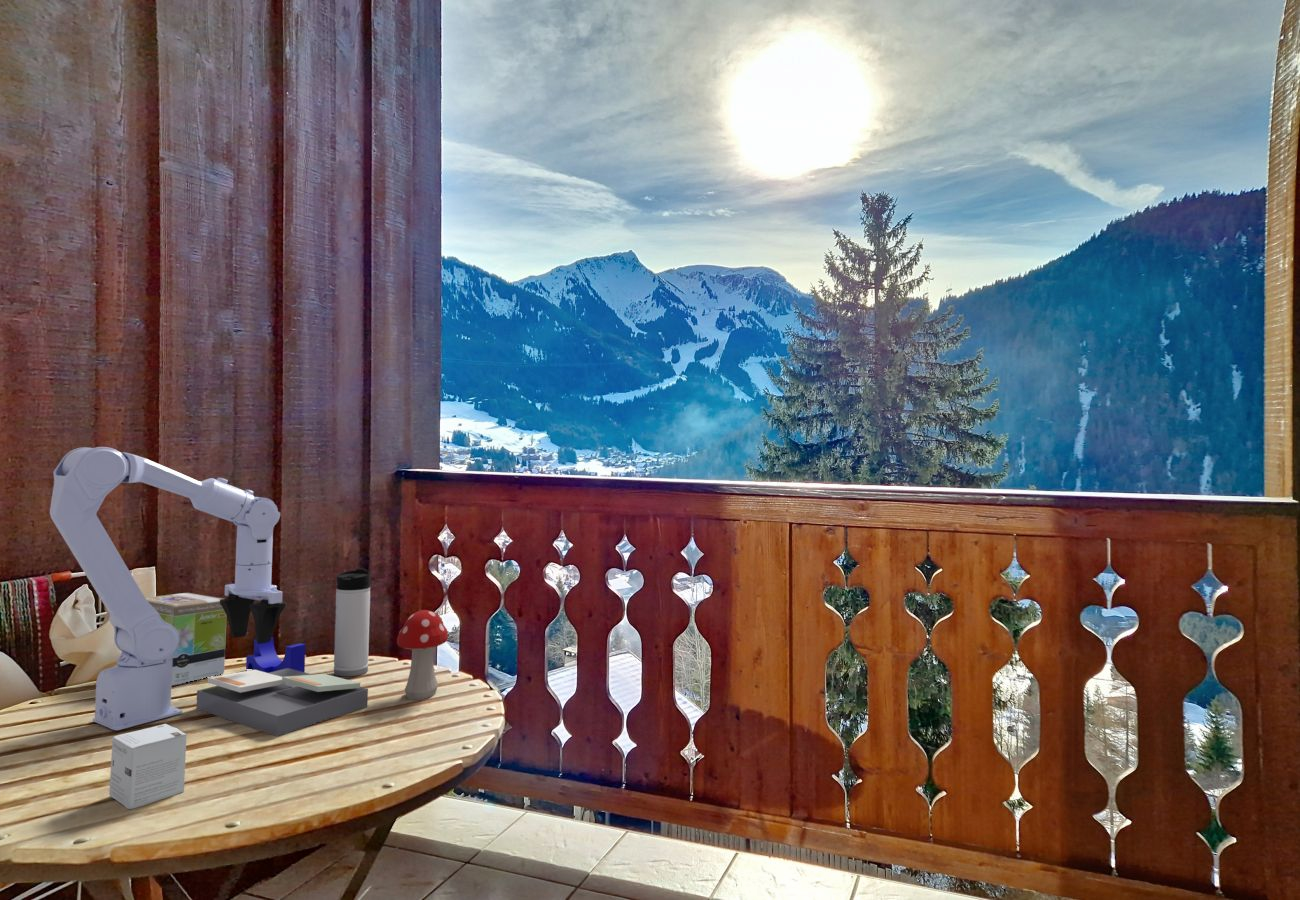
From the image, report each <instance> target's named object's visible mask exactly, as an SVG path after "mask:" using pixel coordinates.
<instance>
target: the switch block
mask: <svg viewBox="0 0 1300 900" xmlns="http://www.w3.org/2000/svg"><path fill="white" fill-rule="evenodd" d="M269 674H273V675H277V676H280V677H288V676H302V675H314V674H311V673H308V672H306V671H305V672H301V671H297V670H293V669H289V668H286V669H282V670H278V671H274V672H270V673H269ZM368 695H369V689H368V688H366V687H362V686H360V688H353V689H343V690H332V691H321V692H316V691H313V690H309V689H305V688H302V687H298V686H295V685H291V684H287V683H286V684H281V685H276V686H271V687H266V688H261V689H256V690H251V691H246V692H241V693H240V692H237V691H233V690H230V689H227V688H224V687H220V686H217V685H214V686H208V687H206V688H202V689H197V690H196V704H195V705H196V707H195V708H196V710H199V711H201V712H202V711H203V712H205V713H208V714H211V715H212V716H216V717H220V718H222V719H225V720H229V721H231V722H235V723H237V724H239V725H240V724H241V725H243V726H246V727H249V728H252V729H255V730H257V731H260V732H264V733H267V734H269V735H271V736H272V735H273V736H275V737H280V736H282V734H283V735H286V734H289V733H292V732H295V731H298V730H300V728H301V729H304V728H307V727H309V725H310V726H313V725H315V724H314V723H316V724H318V723H317V722H319V723H321V722H320V721H322V722H324V721H323V720H325V721H327V720H326V719H328V720H330V719H329V718H331V719H334V718H337V717H340V716H343V715H346V714H349V713H352V712H355V711H359V710H361V709H365V708H367V707H368V705H369V704H368V703H369V702H368V700H369V698H368V697H369V696H368ZM333 717H334V718H333ZM312 724H313V725H312ZM306 726H307V727H306ZM297 729H298V730H297ZM285 733H286V734H285ZM279 735H280V736H279Z"/></svg>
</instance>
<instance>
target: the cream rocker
mask: <svg viewBox="0 0 1300 900" xmlns="http://www.w3.org/2000/svg"><path fill="white" fill-rule="evenodd" d="M281 681H282V677H280V676H277V675H273V674H269V673H266V672H262V671H258V670H250V671H247V670H245V671H239V672H234V673H233V672H232V673H228V674H222V675H218V676H214V677H209V678H207V684H211V685H214V686H220V687H224V688H227V689H230V690H233V691H237V692H240V693H241V692H246V691H251V690H256V689H261V688H266V687H271V686H276V685H281V684H286V683H284V682H281Z"/></svg>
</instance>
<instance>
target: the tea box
mask: <svg viewBox="0 0 1300 900" xmlns="http://www.w3.org/2000/svg"><path fill="white" fill-rule="evenodd" d="M145 599H146V600H147V601H148V602H149V604H150V605H151V606H152V607H153V608H154V609H155V610H156V611H157V612H158V613H159V615H160V617H161V618H162V619H163V620H164V621H165V622H166V623H168V624H170V625H172V626H174V627H175V628H176V630H177V632H178V634H179V643H178V646H177V648H176V650H175V651H174V652H173V657H172V685H171V687H172V686H177V685H183V684H187V683H186V682H188V683H191V682H190V681H193V682H195V681H194V680H197V681H199V680H198V679H201V680H203V679H202V678H206V677H211V676H214V677H215V675H218V676H221V675H220V674H222V675H224V674H225V662H226V654H225V653H226V638H227V637H226V634H227V615H226V613H225V611H224V609H223V607H222V606H221V604H220V600H221V599H224V598H222V597H215V596H210V595H203V594H197V593H192V592H183V593H181V592H180V593H174V594H173V593H172V594H165V595H157V596H147V597H145ZM206 679H207V678H206ZM182 683H183V684H182Z"/></svg>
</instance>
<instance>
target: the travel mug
mask: <svg viewBox="0 0 1300 900" xmlns="http://www.w3.org/2000/svg"><path fill="white" fill-rule="evenodd" d="M335 590H336V591H335V615H334V616H335V621H334V622H335V623H334V624H335V625H334V652H333V653H334V654H333V657H334V658H333V674H334V675H335V677H340V678H342V677H343V678H345V677H346V678H348V677H349V678H350V677H357V676H361V675H365V674H366V673H367V672H368V670H369V648H370V647H369V645H370V644H369V643H370V618H371V617H370V614H371V613H370V610H371V609H370V608H371V571H370V570H367V568H356V569H355V570H348V571H343V572H340V573H338V574H337V575H336V589H335Z"/></svg>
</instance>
